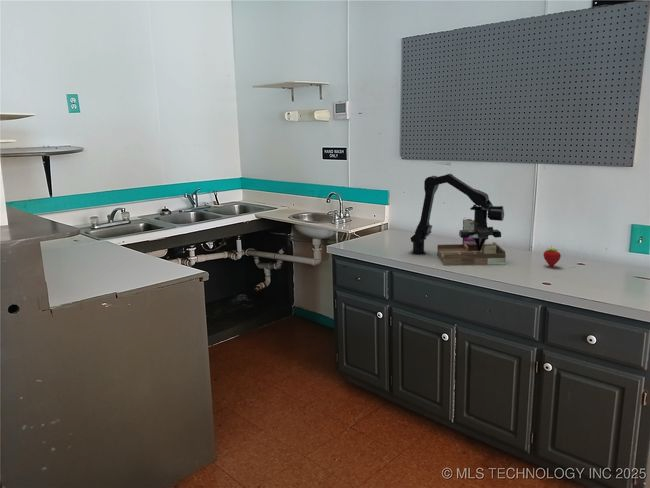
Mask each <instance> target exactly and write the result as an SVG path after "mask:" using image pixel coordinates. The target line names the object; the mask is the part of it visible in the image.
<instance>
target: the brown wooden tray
mask: <svg viewBox="0 0 650 488" xmlns="http://www.w3.org/2000/svg"><path fill="white" fill-rule="evenodd" d="M492 243H494V244H495V245H496V254H484V253H483V252H482V248H481V250H480V251H478V249H477V246H476V244H463V243H460V244H459V243H458V244H456V243H455V244H450V243H449V244H437V256H438V258H439V260H440V261H441V263H442V265H443V266H468V265H469V266H470V265H471V266H473V265H474V266H475V265H477V266H478V265H483V266H484V265H489V266H490V265H491V266H492V265H505V264H506V255H507V254H506V250H504V248H502V247H501V246H500V245H499V244H498V243H496V242H495V241H494V242H493V241H492Z"/></svg>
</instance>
